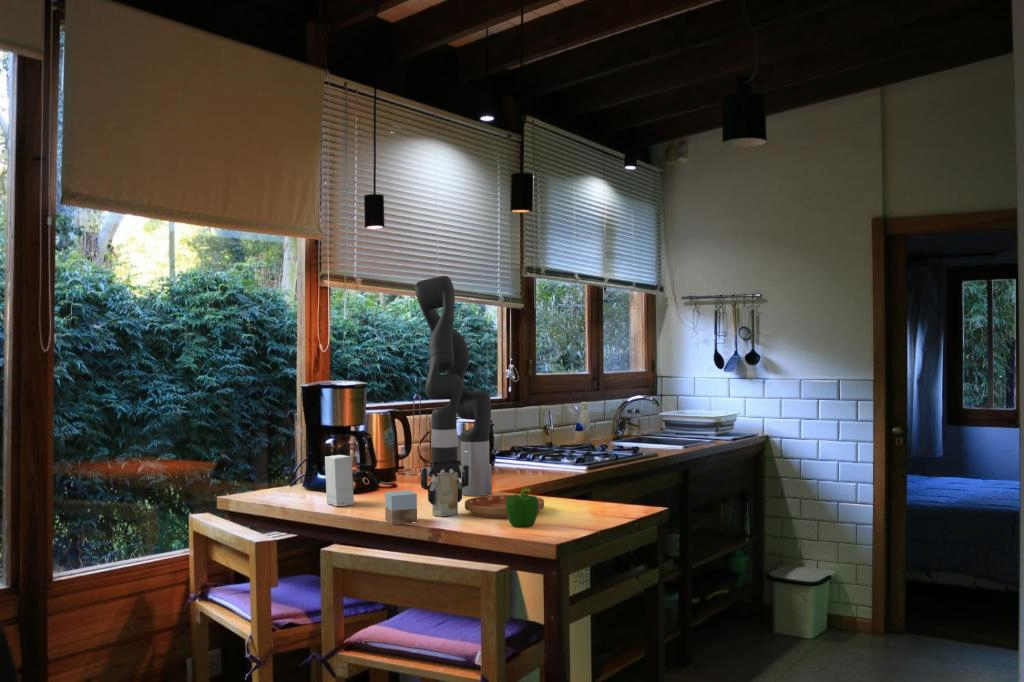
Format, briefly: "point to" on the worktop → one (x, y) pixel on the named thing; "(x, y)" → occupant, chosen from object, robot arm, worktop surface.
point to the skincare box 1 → (339, 480)
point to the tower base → (400, 516)
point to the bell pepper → (522, 509)
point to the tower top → (401, 500)
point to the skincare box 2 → (445, 495)
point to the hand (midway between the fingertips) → (445, 502)
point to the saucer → (492, 506)
